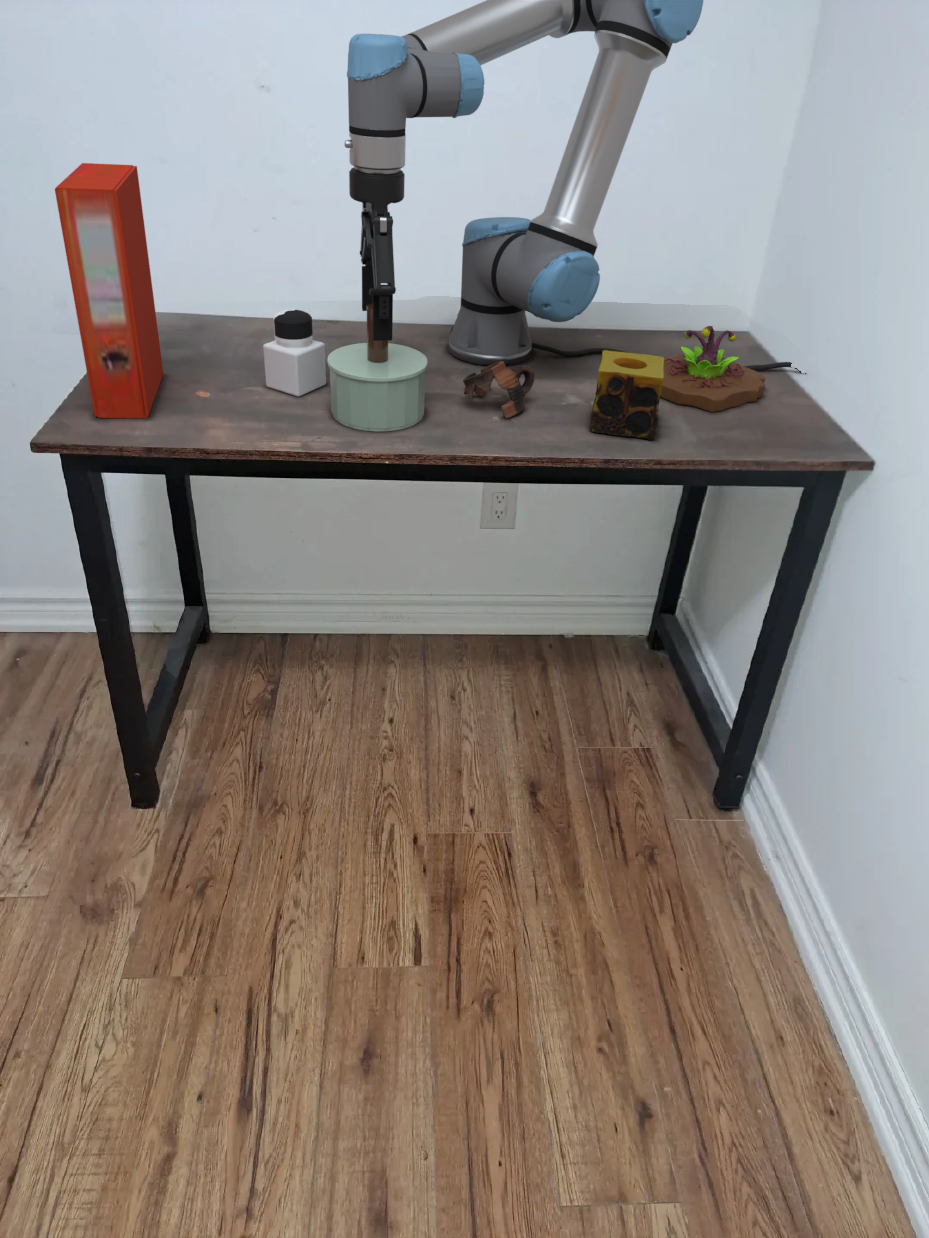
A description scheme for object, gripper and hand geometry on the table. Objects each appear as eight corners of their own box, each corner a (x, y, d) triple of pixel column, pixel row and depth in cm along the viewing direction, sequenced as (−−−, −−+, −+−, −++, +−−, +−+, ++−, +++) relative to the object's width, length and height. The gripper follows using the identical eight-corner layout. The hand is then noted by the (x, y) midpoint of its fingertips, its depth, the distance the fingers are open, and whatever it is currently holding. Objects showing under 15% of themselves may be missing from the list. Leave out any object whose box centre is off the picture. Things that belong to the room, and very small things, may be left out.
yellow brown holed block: (654, 441, 144) (665, 379, 138) (588, 433, 145) (597, 370, 139) (656, 416, 152) (667, 356, 146) (594, 408, 153) (602, 348, 147)
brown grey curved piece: (495, 427, 146) (473, 378, 144) (468, 431, 155) (447, 384, 152) (554, 395, 150) (534, 346, 148) (525, 400, 159) (506, 354, 156)
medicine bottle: (327, 385, 156) (324, 312, 149) (298, 397, 151) (294, 323, 144) (294, 374, 159) (290, 303, 152) (265, 387, 154) (259, 313, 147)
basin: (401, 390, 156) (402, 343, 151) (438, 423, 145) (440, 374, 141) (319, 401, 150) (316, 352, 145) (351, 437, 140) (350, 386, 135)
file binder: (165, 376, 155) (136, 164, 137) (150, 418, 142) (116, 189, 123) (115, 375, 154) (78, 163, 136) (95, 418, 140) (51, 187, 122)
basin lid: (403, 345, 152) (404, 287, 146) (444, 378, 141) (446, 317, 135) (313, 356, 146) (311, 296, 140) (348, 391, 135) (347, 327, 130)
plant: (620, 384, 162) (630, 320, 156) (680, 359, 175) (692, 298, 168) (721, 420, 152) (736, 352, 145) (778, 390, 164) (794, 327, 157)
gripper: (340, 151, 136) (343, 299, 149) (359, 186, 117) (360, 353, 129) (391, 153, 138) (390, 299, 150) (419, 187, 118) (414, 353, 130)
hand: (376, 324), depth 139 cm, fingers open, 13 cm apart
